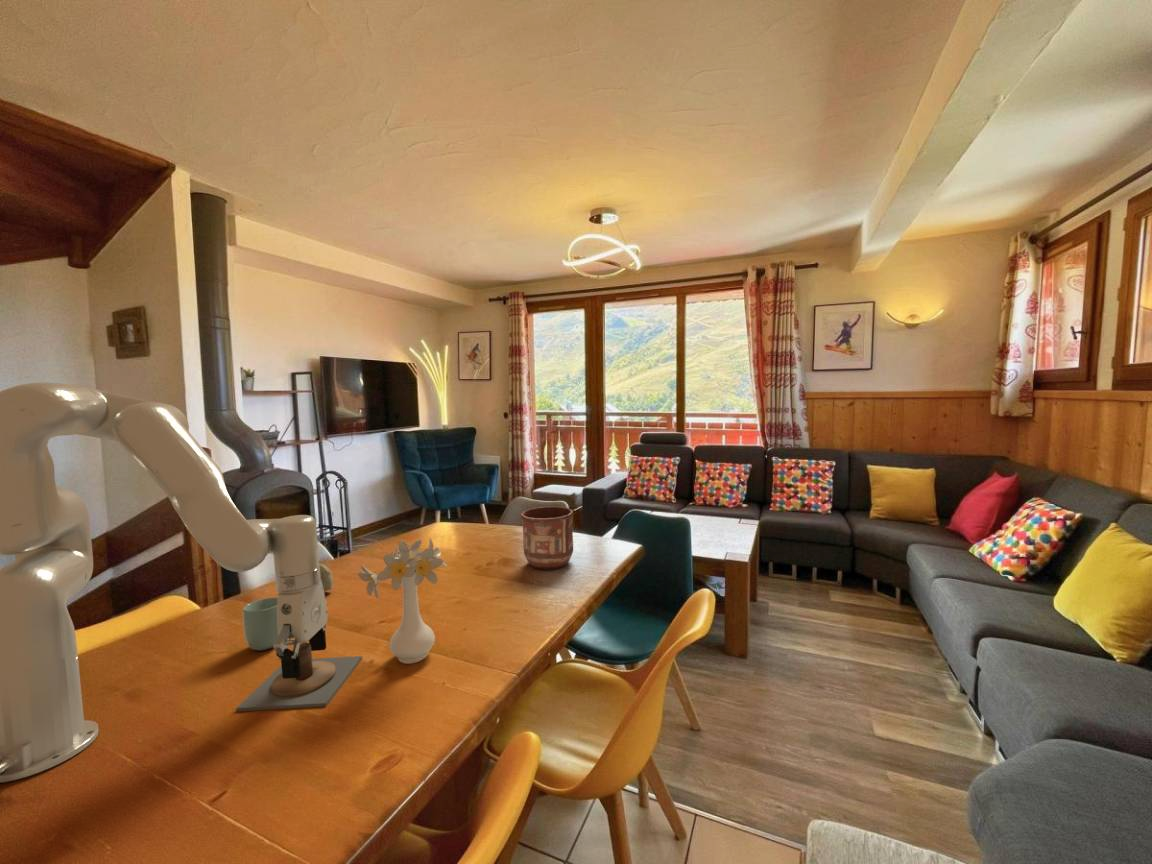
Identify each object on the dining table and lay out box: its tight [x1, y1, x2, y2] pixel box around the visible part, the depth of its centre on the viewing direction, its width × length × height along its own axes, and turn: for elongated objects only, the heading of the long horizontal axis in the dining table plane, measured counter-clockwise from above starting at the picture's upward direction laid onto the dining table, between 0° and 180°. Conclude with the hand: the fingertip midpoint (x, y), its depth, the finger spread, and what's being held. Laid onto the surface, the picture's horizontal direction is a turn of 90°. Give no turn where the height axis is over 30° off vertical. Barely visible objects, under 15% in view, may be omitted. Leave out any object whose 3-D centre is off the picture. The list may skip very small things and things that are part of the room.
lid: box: [271, 642, 336, 697], centre depth 93 cm, size 11×11×7 cm
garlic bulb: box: [319, 562, 335, 592], centre depth 138 cm, size 9×8×10 cm
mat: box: [235, 655, 363, 712], centre depth 93 cm, size 16×16×1 cm
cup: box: [242, 596, 278, 651], centre depth 108 cm, size 8×8×10 cm
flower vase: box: [357, 537, 448, 665], centre depth 100 cm, size 13×18×25 cm
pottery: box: [520, 505, 574, 571], centre depth 158 cm, size 18×18×18 cm
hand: (305, 662), depth 93 cm, fingers open, 9 cm apart
